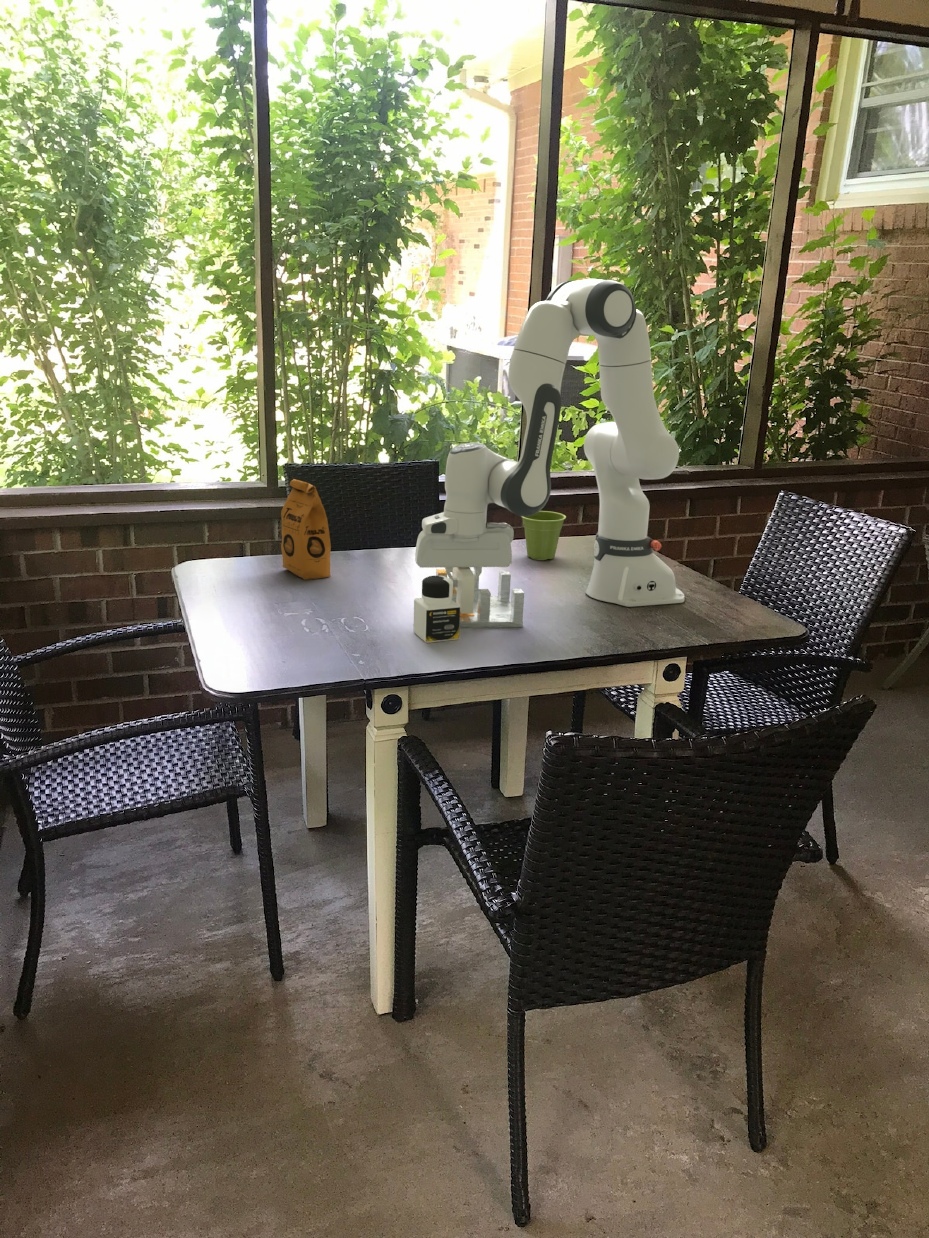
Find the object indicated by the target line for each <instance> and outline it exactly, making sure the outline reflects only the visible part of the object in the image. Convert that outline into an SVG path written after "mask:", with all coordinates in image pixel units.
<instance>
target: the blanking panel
mask: <svg viewBox="0 0 929 1238" xmlns="http://www.w3.org/2000/svg"><path fill="white" fill-rule="evenodd" d="M472 571H473V570H472V568H471V567H453V572H451V573H452V574H451V575H452V577H453V578H457V580H458V583H457V585H458V586H457V588H455V589H456V591H457V597H456V603H457V604H458V605H459V606H460V612H461V614H469V613H473V606H474V582H475V576H474V574H473V572H472Z"/></svg>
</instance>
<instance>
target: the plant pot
mask: <svg viewBox="0 0 929 1238" xmlns="http://www.w3.org/2000/svg"><path fill="white" fill-rule="evenodd" d="M520 517H521V519H522V525H523V527H524V536H525V545H526V547H525V548H526V553H527V558H530V559H532V560H536V561H537V560H538V561H546V560H553V559H555V557H556V552H557V548H558V543H559V540H560V539H559V538H560V536H561V535H560V534H561V530H562V527H563V525H564V520H566V518H567V516H566V515H565V514H563V513H560V512H555V511H548V510H540V511H539V512H537V513H536V514H534V515H531V516H527V517H523V516H520Z"/></svg>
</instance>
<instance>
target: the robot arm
mask: <svg viewBox="0 0 929 1238" xmlns="http://www.w3.org/2000/svg"><path fill="white" fill-rule="evenodd" d="M647 326H648V325H647V323H646V319H645V316H644V314H643V313H642V311H640V310H639V309H637V308H636V303H635V299H634V296H633V294H632V292H631V290H630V289H629V288H628V287H627V286H626V285H625V284H623V283H621V282H619V281H616V280H612V279H598V278H586V279H580V280H567V281H563V282H562V283H561V282H560V284H558V285H556V286H555V287H554V288H553V289H552V290H551V291H550V292H549V294H548V295H547V297H546V299H545V300H542V301H538V302H535V303H534V304H533V305H531V307H530V308H529V310H528V312H527V313H526V316H525V317H524V320H523V322H522V325H521V327H520V329H519V332H518V334H517V336H516V337H517V338H516V340H515V343H514V347H513V351H512V354H511V357H510V361H509V366H508V377H507V380H508V384H509V387H510V389H511V391H512V393H513V394H514V395H515V396H516V398H518V400H519V401H520V403H521V404H522V406H523V408H524V410H525V413H526V427H525V432H524V437H523V442H522V447H521V453H520V457H519V460H518V461H516V460H514V459H511V458H508V457H506V456H503V455H500V454H499V453H496V452H494V451H492V449H489V448H488V447H487V446H486V445H485V443H483V442H482V443H481V442H465V443H460V444H456V445H455V446H453V447H452V448H451V449H450V450H449V453H448V455H447V458H446V463H445V465H446V466H445V477H444V490H445V493H446V494H445V496H446V497H445V502H444V504H443V505H444V507H443V511H442V512H440V513H436V514H433V515H429V516H427V517H424V518H423V519H422V521H421V528H422V531H420V532H419V534H418V536H417V540H416V545H415V551H414V552H415V553H414V555H415V558H414V559H415V560H414V561H415V563H416V565H417V566H418V567H419V568H420V569H421V568H422V569H424V568H432V569H433V568H434V569H435V568H436V569H438V568H444V569H445V571H446V573H447V577H448V578H450V579H451V580H452V581H453V587H455V588H457V586H458V585H457V583H458V580H457V578H453V577H452V574H451V573H452V572H453V567H470V568H473V571H475V573H474V576H475V582H474V587H476V580H477V579H478V577H479V578H480V576H481V575H482V572H483V568H508V567H510V565H511V564H512V563H513V550H512V542H513V540H514V533H515V532H514V528H513V527H512V526H511V525H510V524H508V523H506V522H487V516H488V515H487V511H488V505H490V504H496V505H497V506H500V507H502V508H504V509H506V510H508V511H509V512H511V513H513V515H514V514H515V515H516V516H519V517H521V516H523V517H527V516H531V515H534V514H536V513H537V512H539V511H542V509H543V508H545V506H546V505H547V503H548V501H549V498H550V497H551V490H552V479H551V467H552V466H551V465H552V461H553V456H554V451H555V450H554V449H555V446H556V445H555V444H556V439H557V435H558V434H557V433H558V429H559V423H560V417H561V410H562V397H561V391H562V390H561V389H562V383H563V382H562V381H563V376H564V371H565V368H566V364H567V362H568V357H569V354H570V353H569V351H570V349H571V348H570V347H571V345H572V343H573V342H574V341H575V339H576V338H577V337H578V336H581V337H582V336H583V337H590V336H591V337H592V336H593V337H594V338H595V340H596V343H597V346H598V347H597V348H598V367H599V368H598V369H599V370H598V371H599V384H600V385H599V386H600V387H599V388H600V397H601V401H602V403H603V405H604V407H606V409H607V410H608V411H609V412H610V414H611V416H612V418H613V421H607V422H601V423H600V422H599V423H596V424H594V425H593V426H592V427H591V428H590V429H589V430H588V431H587V432H586V435H585V437H584V439H583V440H584V441H583V451H584V454H585V457H586V459H587V460H588V461H589V463H590V464H591V467H592V469H593V472H594V475H595V480H596V485H597V489H598V496H599V497H598V498H599V511H598V512H599V513H598V529H597V530H598V531H597V532H596V534H595V540H594V546H593V555H594V562H593V567H592V572H591V575H590V579H589V583H588V586H587V587H586V590H585V593H586V595H587V596H589V597H590V598H593V599H595V600H598V601H601V602H602V601H603V602H607V603H611V604H617V605H620V606H623V607H629V608H630V607H643V606H644V607H645V606H656V605H668V604H670V605H671V604H681V603H684V602H685V594H684V592H682V590H680V589H679V588H678V587H677V586H676V585H677V583H676V576H675V573H674V571H673V570H672V569H671V567H670V566H668V564H666V563H665V562H664V561H663V560H662V559H661V558H659V557H658V556H657V555H656V554H655V553H654V551H656V552H657V551H660V549H662V544H661V542H660V541H658V540H656V539H655V540H654V539H652V538H651V537H650V536H648V528H649V517H650V507H651V506H650V500H649V499H648V498H647V496H646V495H645V492H643V489H642V487H641V484H640V479H641V480H661V479H665V478H667V477H669V476H670V475H671V474H672V473H673V471H675V469H676V467H677V465H678V462H679V458H680V448H679V444H678V443H677V441H676V439H675V438H674V437H673V436H672V435H671V434H670V433H669V431H668V430H667V428H666V426H665V423H663V419H662V418H661V415H660V412H659V408H658V407H657V402H656V399H655V394H654V385H653V369H652V367H653V366H652V354H651V341H650V336H649V331H648V327H647Z"/></svg>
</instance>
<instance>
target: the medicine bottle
mask: <svg viewBox="0 0 929 1238" xmlns="http://www.w3.org/2000/svg"><path fill="white" fill-rule="evenodd" d="M452 597H453V581H452V580H451V579H450V578H449V577H448V576H447V577H445V576H436V575H429V576H427V577H424V578H423V579H422V581H421V597H419V598H414V599H413V624H412V625H413V630H412V631H413V633H414V634H415V635H417V636H418V637H419V638H420V639H421V640H422V641H423V642H425V643H426V644H427V643H428V644H431V643H439V642H449V641H456V640H457V641H458V640H459V639H460V628H459V623H460V606H459V605H458V604H457V603H455V602H454V601H453V600H451V599H452Z"/></svg>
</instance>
